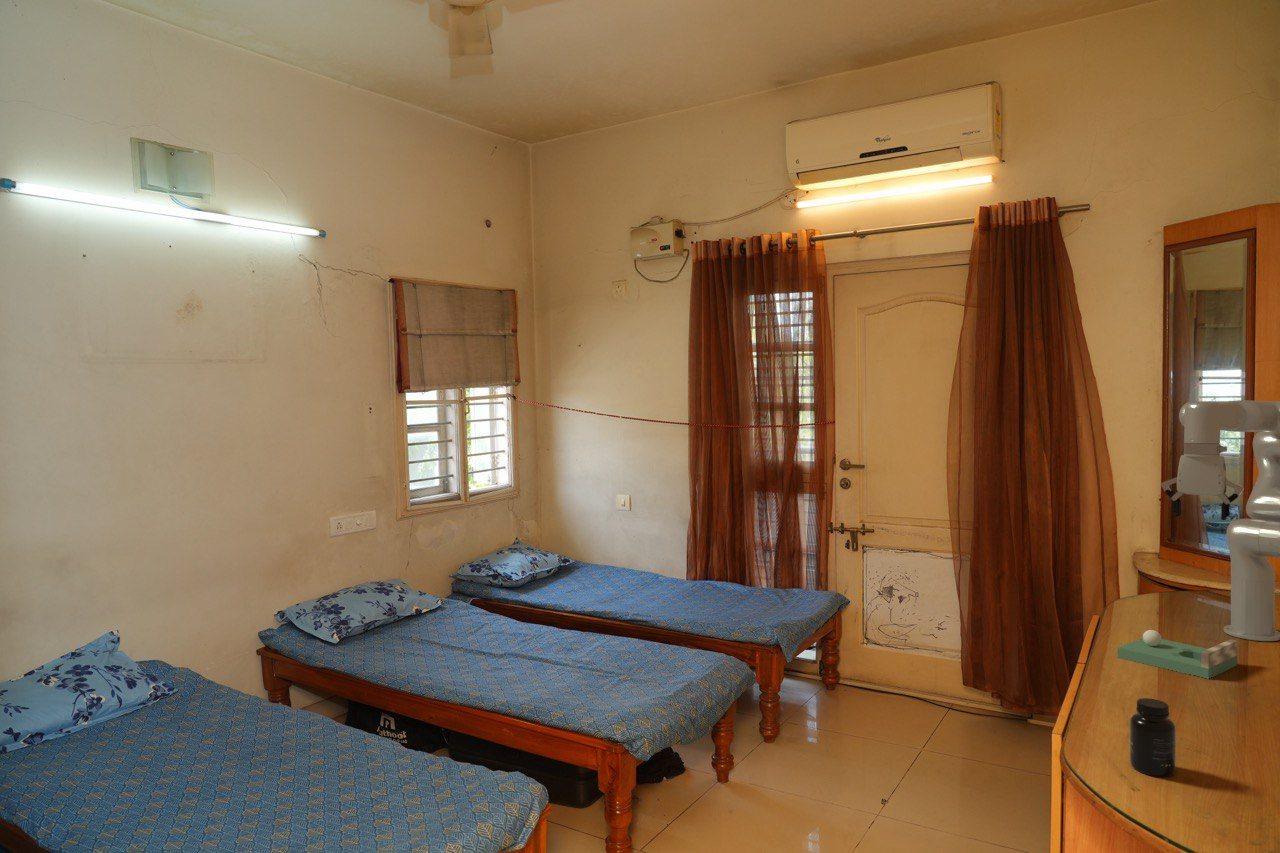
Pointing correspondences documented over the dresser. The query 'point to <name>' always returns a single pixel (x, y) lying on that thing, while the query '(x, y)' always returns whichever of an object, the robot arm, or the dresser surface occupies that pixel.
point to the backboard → (1218, 653)
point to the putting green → (1173, 657)
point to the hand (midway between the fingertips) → (1200, 517)
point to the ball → (1152, 638)
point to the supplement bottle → (1152, 739)
